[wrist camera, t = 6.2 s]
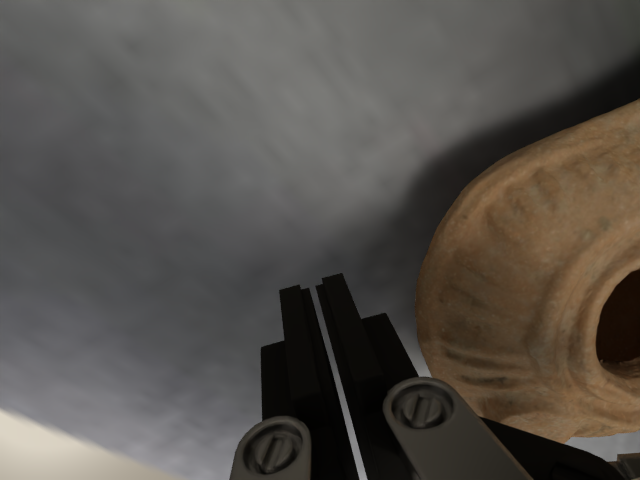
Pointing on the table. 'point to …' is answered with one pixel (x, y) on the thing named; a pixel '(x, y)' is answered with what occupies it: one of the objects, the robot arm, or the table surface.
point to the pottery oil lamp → (543, 285)
